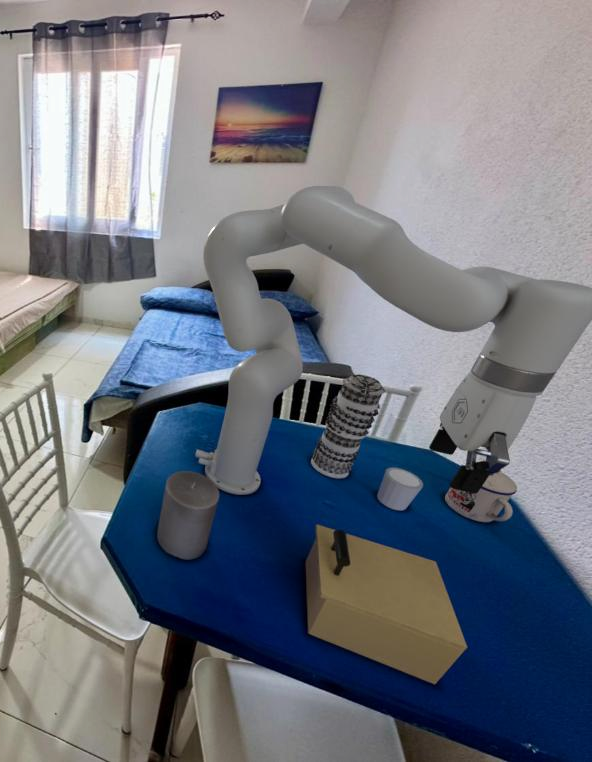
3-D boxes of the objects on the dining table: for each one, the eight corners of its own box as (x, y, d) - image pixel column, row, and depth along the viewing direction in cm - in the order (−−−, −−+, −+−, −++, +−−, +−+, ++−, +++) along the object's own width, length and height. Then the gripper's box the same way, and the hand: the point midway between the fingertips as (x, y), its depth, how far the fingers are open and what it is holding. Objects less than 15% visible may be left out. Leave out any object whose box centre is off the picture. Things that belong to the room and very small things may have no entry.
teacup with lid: (433, 491, 95) (457, 452, 89) (474, 495, 94) (500, 455, 89) (472, 532, 85) (501, 491, 79) (518, 536, 84) (551, 495, 78)
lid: (319, 597, 61) (330, 575, 59) (315, 527, 73) (324, 507, 71) (464, 650, 55) (483, 629, 53) (433, 564, 67) (447, 544, 65)
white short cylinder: (416, 515, 88) (430, 491, 85) (381, 509, 90) (394, 485, 86) (400, 492, 94) (413, 469, 91) (368, 488, 96) (380, 465, 92)
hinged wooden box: (308, 633, 65) (325, 599, 61) (305, 561, 77) (320, 529, 73) (435, 684, 59) (464, 651, 55) (411, 598, 71) (433, 565, 67)
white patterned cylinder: (359, 474, 100) (400, 385, 88) (332, 483, 97) (372, 392, 85) (326, 452, 107) (361, 367, 95) (301, 460, 104) (333, 373, 92)
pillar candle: (189, 516, 86) (201, 461, 79) (216, 553, 78) (232, 496, 71) (148, 526, 83) (156, 470, 76) (171, 566, 75) (184, 508, 68)
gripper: (453, 345, 64) (407, 433, 72) (504, 396, 50) (439, 499, 58) (514, 354, 61) (459, 445, 69) (585, 411, 47) (506, 516, 55)
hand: (450, 469), depth 64 cm, fingers open, 9 cm apart
